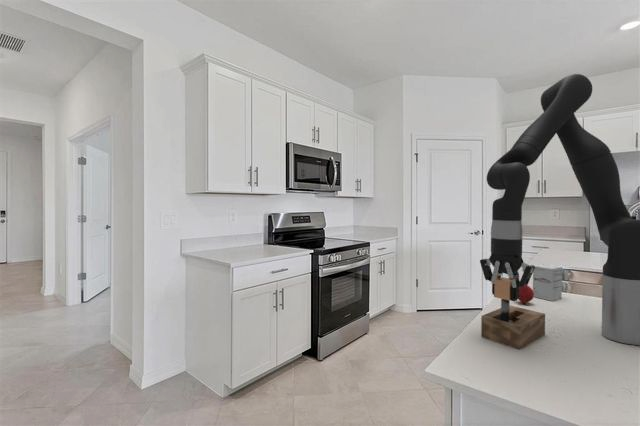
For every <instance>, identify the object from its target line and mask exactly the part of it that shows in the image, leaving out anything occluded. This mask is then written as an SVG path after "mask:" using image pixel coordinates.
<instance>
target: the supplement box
mask: <svg viewBox="0 0 640 426" xmlns="http://www.w3.org/2000/svg"><path fill="white" fill-rule="evenodd" d="M533 266H534V267H535V269H534V271H533V273H532V290H533V293H534V297H533V298H537V299H542V300H545V301H546V300H547V301H549V302H554V300H555V301H557V300H561V299H562V295H563V294H562V293H563V292H562V289H563V266H557V265H551V264H545V263H540V264H534V265H533Z"/></svg>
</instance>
